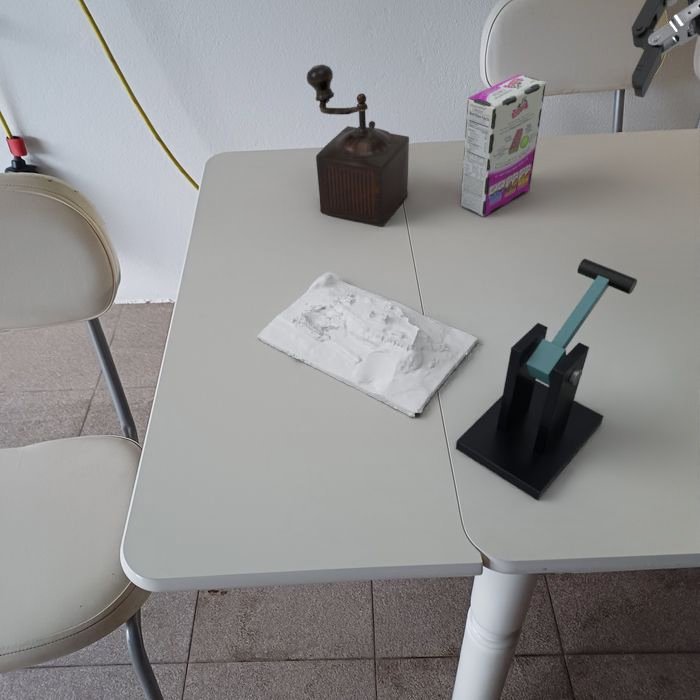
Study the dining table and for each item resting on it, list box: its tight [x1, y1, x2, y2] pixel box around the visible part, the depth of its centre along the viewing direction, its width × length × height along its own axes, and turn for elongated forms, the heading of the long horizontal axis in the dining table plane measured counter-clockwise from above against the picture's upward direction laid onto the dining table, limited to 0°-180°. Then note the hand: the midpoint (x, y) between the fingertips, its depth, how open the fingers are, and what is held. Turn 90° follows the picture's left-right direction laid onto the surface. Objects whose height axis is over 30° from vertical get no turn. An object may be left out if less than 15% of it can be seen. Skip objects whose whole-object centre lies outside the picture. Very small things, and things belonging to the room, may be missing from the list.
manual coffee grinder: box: [306, 64, 410, 227], centre depth 92 cm, size 16×11×18 cm
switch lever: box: [526, 258, 638, 386], centre depth 57 cm, size 12×5×2 cm, turn 137°
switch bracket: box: [455, 322, 604, 501], centre depth 59 cm, size 12×9×12 cm
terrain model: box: [257, 271, 479, 418], centre depth 73 cm, size 17×23×5 cm
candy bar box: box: [459, 74, 547, 218], centre depth 91 cm, size 11×5×16 cm, turn 132°
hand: (686, 105), depth 56 cm, fingers open, 8 cm apart
